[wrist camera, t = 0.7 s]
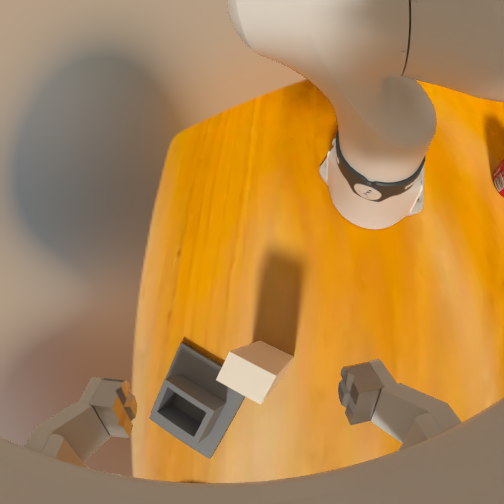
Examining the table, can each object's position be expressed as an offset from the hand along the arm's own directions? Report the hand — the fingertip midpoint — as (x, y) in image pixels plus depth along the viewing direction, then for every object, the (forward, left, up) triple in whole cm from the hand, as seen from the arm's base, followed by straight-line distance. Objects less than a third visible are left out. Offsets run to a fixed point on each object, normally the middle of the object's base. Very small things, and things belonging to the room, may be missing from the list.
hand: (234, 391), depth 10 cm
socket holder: (+21, -12, -35) cm, 42 cm away
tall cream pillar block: (+7, -4, -35) cm, 36 cm away
